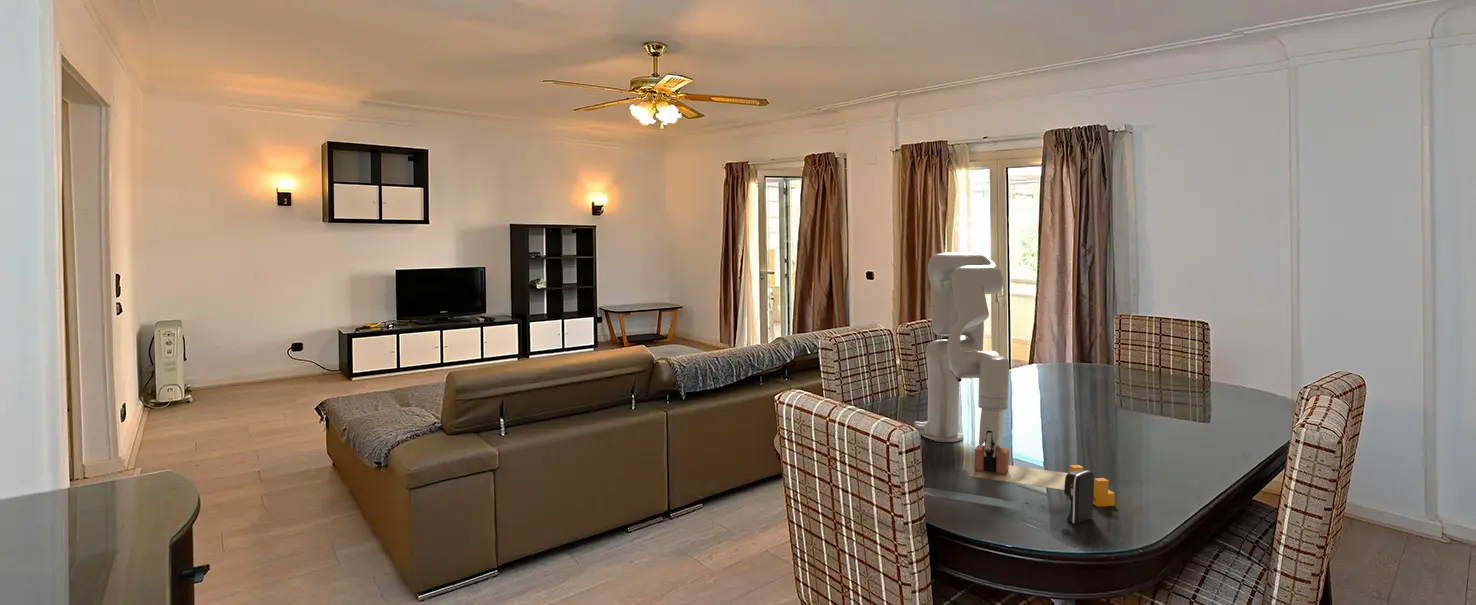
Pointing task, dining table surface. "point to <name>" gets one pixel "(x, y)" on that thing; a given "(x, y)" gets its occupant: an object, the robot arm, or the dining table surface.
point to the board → (1027, 477)
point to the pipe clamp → (1099, 490)
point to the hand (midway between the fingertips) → (991, 467)
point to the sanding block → (1001, 460)
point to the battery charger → (1080, 495)
